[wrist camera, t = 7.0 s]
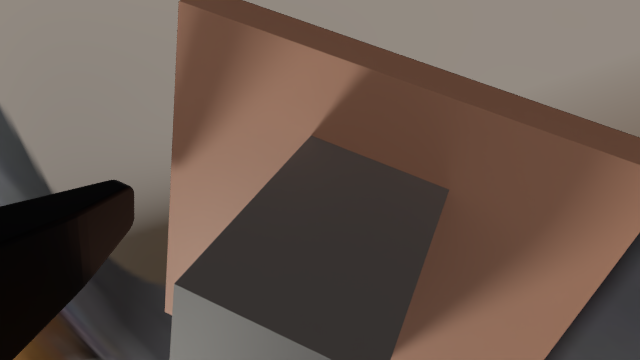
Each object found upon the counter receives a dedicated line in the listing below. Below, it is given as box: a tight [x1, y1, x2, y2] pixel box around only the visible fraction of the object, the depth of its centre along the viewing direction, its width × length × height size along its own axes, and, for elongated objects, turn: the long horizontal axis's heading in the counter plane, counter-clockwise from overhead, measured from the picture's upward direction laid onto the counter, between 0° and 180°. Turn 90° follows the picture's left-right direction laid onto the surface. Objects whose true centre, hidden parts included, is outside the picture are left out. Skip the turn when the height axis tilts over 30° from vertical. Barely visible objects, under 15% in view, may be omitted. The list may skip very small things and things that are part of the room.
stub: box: [165, 0, 640, 360], centre depth 9 cm, size 8×8×5 cm
